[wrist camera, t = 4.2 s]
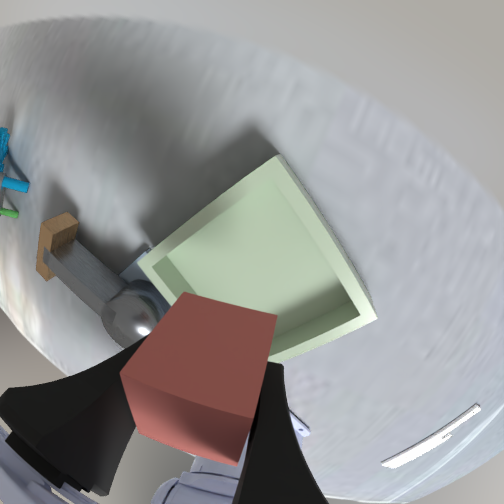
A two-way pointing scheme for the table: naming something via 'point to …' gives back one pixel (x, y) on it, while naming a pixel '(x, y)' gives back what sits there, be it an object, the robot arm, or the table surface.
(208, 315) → the block
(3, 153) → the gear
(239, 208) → the tray
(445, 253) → the table surface
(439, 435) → the butcher knife
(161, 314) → the crank
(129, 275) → the crank base
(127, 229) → the table surface
